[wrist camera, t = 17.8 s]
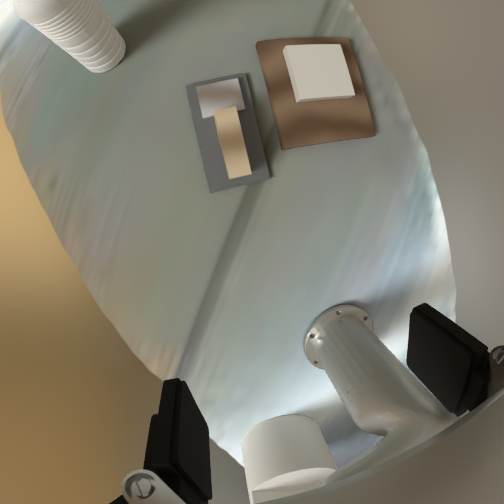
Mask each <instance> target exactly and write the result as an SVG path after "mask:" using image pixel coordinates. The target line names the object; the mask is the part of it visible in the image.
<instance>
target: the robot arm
mask: <svg viewBox="0 0 504 504" xmlns="http://www.w3.org/2000/svg"><path fill="white" fill-rule="evenodd" d="M487 350H488V347H487V346H486V345H484V344H483V343H482V342H480V341H479V340H478V339H476V338H475V337H474V336H472V335H471V334H469V333H468V332H467V331H465V330H464V329H462V328H461V327H460V326H458V325H457V324H456V323H454V322H453V321H451V320H450V319H449V318H447V317H446V316H444V315H443V314H441V313H440V312H439V311H437V310H436V309H434V308H433V307H431V306H430V305H428V304H427V303H423V304H421V305H418V306H416V307H414V308H413V310H412V312H411V314H410V324H409V339H408V350H407V365H408V367H409V369H410V370H411V371H412V372H413V373H414V374H415V375H416V376H417V377H418V378H419V379H420V380H421V381H422V383H423V384H424V385H425V386H426V387H427V388H428V389H429V390H430V391H431V392H432V393H433V395H434V396H433V395H432V394H431V393H430V392H429V391H428V390H427V389H426V388H425V387H424V386H423V385H422V384H421V383H420V382H419V381H418V380H417V379H416V378H415V377H414V376H413V375H412V374H411V373H410V372H409V370H407V368H406V367H405V366H404V365H403V364H402V363H401V362H400V361H399V360H398V359H397V358H396V356H395V355H394V354H393V353H392V352H391V351H390V350H389V349H388V348H387V347H386V346H385V345H384V344H383V343H382V342H381V341H380V340H379V338H378V337H377V336H376V335H375V334H374V333H373V322H372V320H371V317H370V316H369V315H368V313H367V312H366V311H365V310H363V309H362V308H360V307H358V306H355V305H349V304H346V305H339V306H336V307H333V308H331V309H329V310H327V311H325V312H324V313H322V314H321V315H320V316H318V317H317V318H316V319H315V320H314V322H313V323H312V324H311V325H310V327H309V329H308V330H307V332H306V335H305V338H304V352H305V355H306V357H307V359H308V360H309V362H310V363H311V364H312V365H314V366H315V367H317V368H319V369H323V370H325V371H326V373H327V375H328V377H329V379H330V380H331V382H332V384H333V386H334V387H335V389H336V391H337V393H338V394H339V396H340V398H341V400H342V402H343V403H344V405H345V407H346V409H347V410H348V412H349V414H350V416H351V418H352V419H353V421H354V422H355V424H356V425H357V426H358V427H359V428H361V429H362V430H364V431H366V432H368V433H371V434H375V435H379V436H385V437H384V438H383V439H382V440H380V441H379V442H378V443H376V445H374V446H373V447H371V448H370V449H369V450H367V451H366V452H364V453H363V454H361V455H360V456H358V457H356V458H355V459H353V460H352V461H350V462H349V463H347V464H346V465H344V466H342V467H341V468H339V469H338V470H336V471H335V472H333V473H332V474H331V475H329V476H328V477H327V478H326V480H325V481H324V482H323V484H322V487H319V488H316V489H312V490H309V491H305V492H302V493H298V494H295V495H291V496H287V497H283V498H278V499H274V500H270V501H265V502H261V503H256V504H504V345H501V346H497V347H495V348H494V349H493V350H491V352H490V353H489V352H488V351H487ZM467 409H468V410H469V411H470V412H469V413H468V414H466V415H465V416H463V417H461V416H460V415H462V414H463V413H465V412H466V411H467ZM209 449H210V448H209V429H208V426H207V423H206V421H205V419H204V417H203V416H202V414H201V412H200V410H199V408H198V406H197V404H196V402H195V400H194V398H193V396H192V394H191V392H190V390H189V388H188V386H187V384H186V382H185V381H181V380H180V379H179V378H175V379H169V380H165V381H164V382H163V388H162V393H161V400H160V405H159V412H158V414H155V415H153V416H152V418H151V423H150V428H149V434H148V441H147V447H146V453H145V461H144V467H143V469H140V470H136V471H133V472H131V473H129V474H128V475H127V476H126V477H125V478H124V479H123V481H122V483H121V492H122V495H121V496H120V497H118V498H117V499H115V500H114V501H113V502H111V503H110V504H208V500H211V499H212V484H211V469H210V450H209Z"/></svg>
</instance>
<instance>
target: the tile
mask: <svg viewBox="0 0 504 504" xmlns="http://www.w3.org/2000/svg"><path fill="white" fill-rule="evenodd" d="M283 54H284V57H285V61H286V65H287V68H288V72H289V76H290V79H291V83H292V87H293V91H294V95H295V99H296V103H297V102H306V101H316V100H327V99H340V98H350V97H353V96H355V93H354V89H353V85H352V81H351V78H350V74H349V71H348V67H347V64H346V61H345V57H344V54H343V51H342V48H341V45H340V44H308V45H288V46H285V48H284V49H283Z"/></svg>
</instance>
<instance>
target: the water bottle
mask: <svg viewBox="0 0 504 504" xmlns="http://www.w3.org/2000/svg"><path fill="white" fill-rule="evenodd" d="M13 6H14V10H15V12H16V13H17V15H18V16H19V17H21V18H22V19H23V20H25V21H27V22H28V23H30V24H31V25H32V26H34V27H35V28H36V29H38V30H39V31H40V32H42V33H43V34H44V35H45V36H47V37H48V38H50V39H51V40H52V41H53V42H54V43H55V44H57V45H58V46H60V47H61V48H62V49H63V50H65V51H66V52H67V53H68V54H70V55H71V56H72V57H74V58H75V59H76V60H78V61H79V62H80V63H81V64H83V65H84V66H85V67H86V68H87V69H89V70H90V71H92V72H96V73H102V72H106V71H108V70H111V69H112V68H114V67H115V66H116V65H118V63H119V62H120V61H121V60H122V58H123V57H124V54H125V50H126V44H125V42H124V40H123V38H122V37H121V35H120V34H119V33H118V31H117V30H116V29H115V27H114V25H113V24H112V23H111V21H110V19H109V18H108V17H107V15H106V13H105V12H104V11H103V10H102V8H101V6H100V5H99V3H98V2H97V1H96V0H13Z"/></svg>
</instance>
